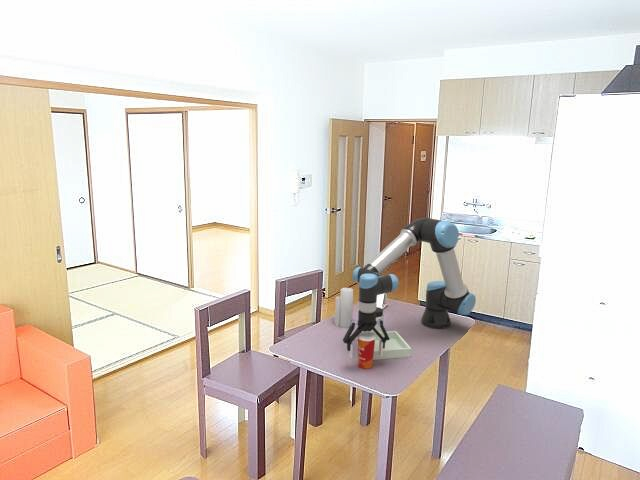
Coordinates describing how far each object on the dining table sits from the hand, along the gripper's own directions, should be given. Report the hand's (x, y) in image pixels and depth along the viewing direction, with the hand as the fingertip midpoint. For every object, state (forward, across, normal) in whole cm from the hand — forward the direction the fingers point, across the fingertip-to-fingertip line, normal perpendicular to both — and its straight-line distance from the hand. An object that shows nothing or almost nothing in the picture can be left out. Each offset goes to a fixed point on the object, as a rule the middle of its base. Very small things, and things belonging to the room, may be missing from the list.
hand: (365, 356), depth 205 cm
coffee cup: (+5, 0, 0) cm, 5 cm away
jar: (+5, -15, -35) cm, 39 cm away
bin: (+5, -13, -15) cm, 21 cm away
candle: (+5, -1, -47) cm, 47 cm away
